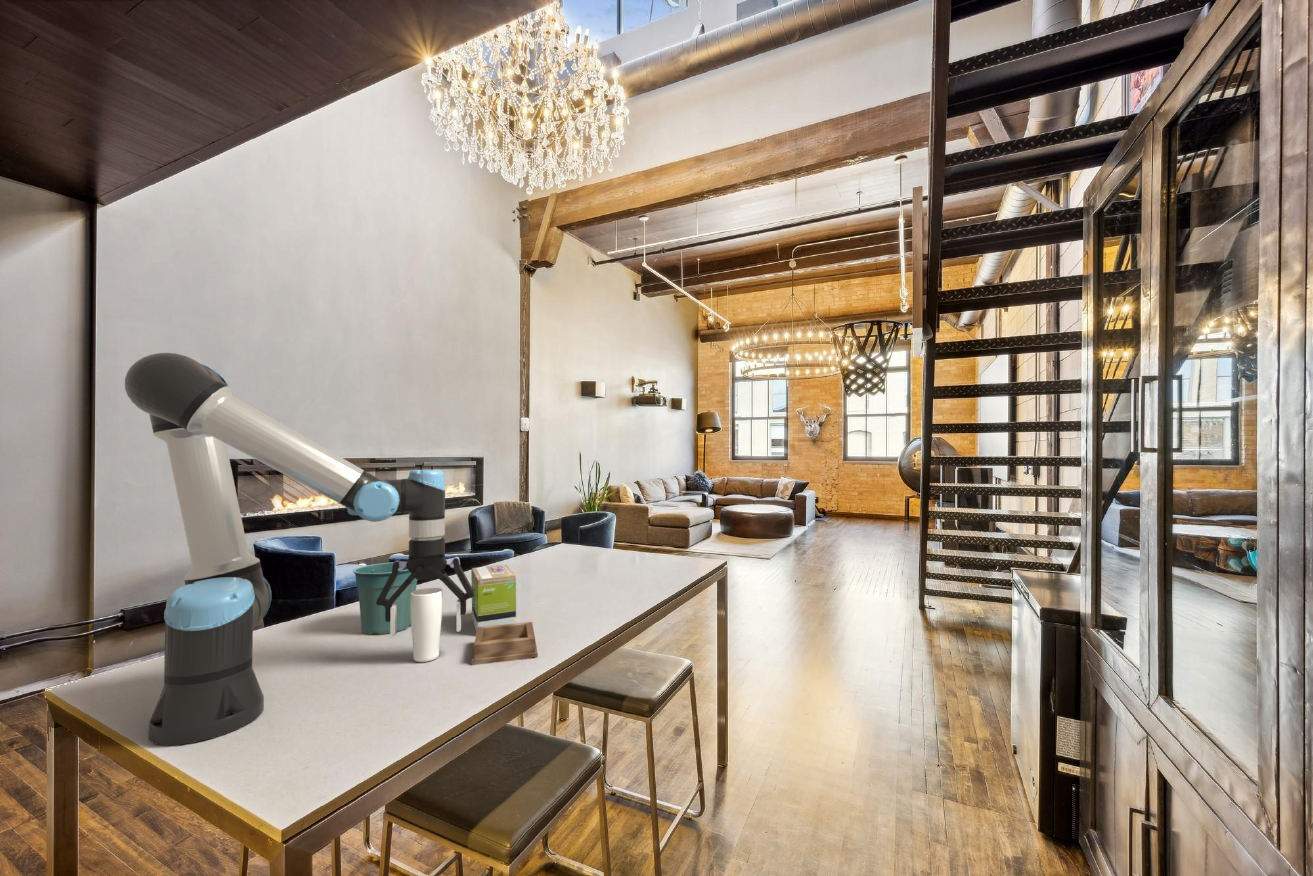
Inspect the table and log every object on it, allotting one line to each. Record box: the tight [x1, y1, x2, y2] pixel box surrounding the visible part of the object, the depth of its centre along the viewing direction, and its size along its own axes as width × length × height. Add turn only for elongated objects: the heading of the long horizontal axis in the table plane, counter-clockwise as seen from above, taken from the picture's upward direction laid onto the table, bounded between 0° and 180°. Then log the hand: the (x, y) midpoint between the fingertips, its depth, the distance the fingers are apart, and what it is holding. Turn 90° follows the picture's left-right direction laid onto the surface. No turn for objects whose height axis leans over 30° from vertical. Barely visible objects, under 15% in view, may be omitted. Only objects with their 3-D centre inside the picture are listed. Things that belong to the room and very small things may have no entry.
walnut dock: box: [471, 621, 539, 666], centre depth 124 cm, size 14×14×4 cm
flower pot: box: [352, 561, 418, 635], centre depth 142 cm, size 16×16×16 cm
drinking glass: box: [410, 587, 444, 663], centre depth 119 cm, size 7×7×15 cm
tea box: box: [470, 564, 517, 631], centre depth 143 cm, size 15×10×15 cm, turn 25°
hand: (426, 632), depth 119 cm, fingers open, 13 cm apart
